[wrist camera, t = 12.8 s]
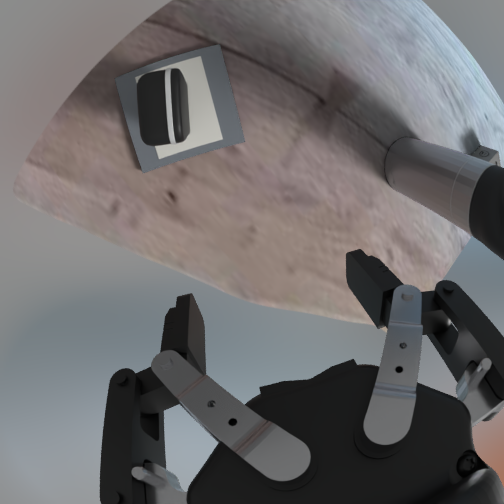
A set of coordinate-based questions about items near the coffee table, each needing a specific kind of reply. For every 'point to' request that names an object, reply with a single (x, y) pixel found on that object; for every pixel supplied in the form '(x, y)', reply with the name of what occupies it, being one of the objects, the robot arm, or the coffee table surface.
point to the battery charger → (163, 107)
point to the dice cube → (487, 155)
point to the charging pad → (200, 107)
